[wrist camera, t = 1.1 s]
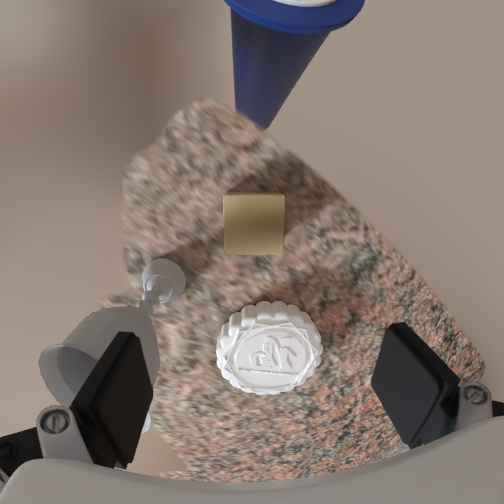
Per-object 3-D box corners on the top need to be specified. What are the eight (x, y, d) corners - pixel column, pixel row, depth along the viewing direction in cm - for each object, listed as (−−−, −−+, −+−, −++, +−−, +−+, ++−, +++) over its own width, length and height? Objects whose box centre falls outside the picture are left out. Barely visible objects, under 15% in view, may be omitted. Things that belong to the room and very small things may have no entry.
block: (226, 191, 26) (223, 194, 21) (276, 191, 26) (285, 194, 22) (226, 241, 28) (224, 255, 23) (276, 240, 28) (283, 254, 23)
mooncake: (329, 305, 30) (339, 320, 27) (302, 382, 33) (307, 400, 30) (225, 291, 29) (223, 306, 26) (212, 374, 32) (210, 393, 29)
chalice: (122, 275, 28) (27, 373, 11) (161, 235, 27) (62, 320, 10) (167, 320, 30) (115, 446, 12) (208, 285, 29) (177, 417, 11)
